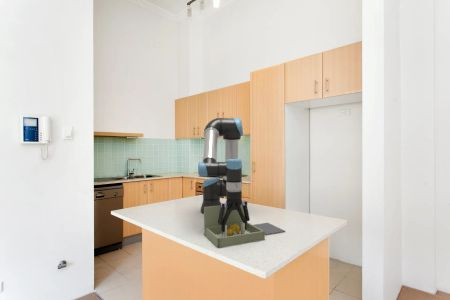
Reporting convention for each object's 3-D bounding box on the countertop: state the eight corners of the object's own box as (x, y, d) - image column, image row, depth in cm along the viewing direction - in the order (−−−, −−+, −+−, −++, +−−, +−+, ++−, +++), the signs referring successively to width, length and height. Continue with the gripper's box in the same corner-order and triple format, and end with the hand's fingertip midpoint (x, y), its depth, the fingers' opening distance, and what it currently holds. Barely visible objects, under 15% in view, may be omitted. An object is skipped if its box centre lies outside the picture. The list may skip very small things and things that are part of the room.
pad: (249, 226, 137) (249, 225, 137) (267, 223, 142) (267, 222, 142) (265, 235, 122) (265, 234, 122) (285, 232, 127) (285, 230, 127)
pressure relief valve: (221, 236, 119) (233, 231, 126) (241, 247, 111) (253, 241, 119) (223, 226, 118) (235, 221, 126) (243, 235, 111) (255, 230, 118)
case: (204, 234, 123) (204, 204, 123) (245, 228, 133) (245, 200, 133) (218, 248, 106) (218, 213, 106) (264, 239, 116) (264, 208, 116)
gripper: (216, 193, 111) (216, 243, 111) (257, 190, 120) (257, 236, 120) (210, 190, 118) (210, 237, 118) (249, 188, 127) (249, 231, 127)
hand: (233, 237), depth 119 cm, fingers closed on pressure relief valve, 9 cm apart
